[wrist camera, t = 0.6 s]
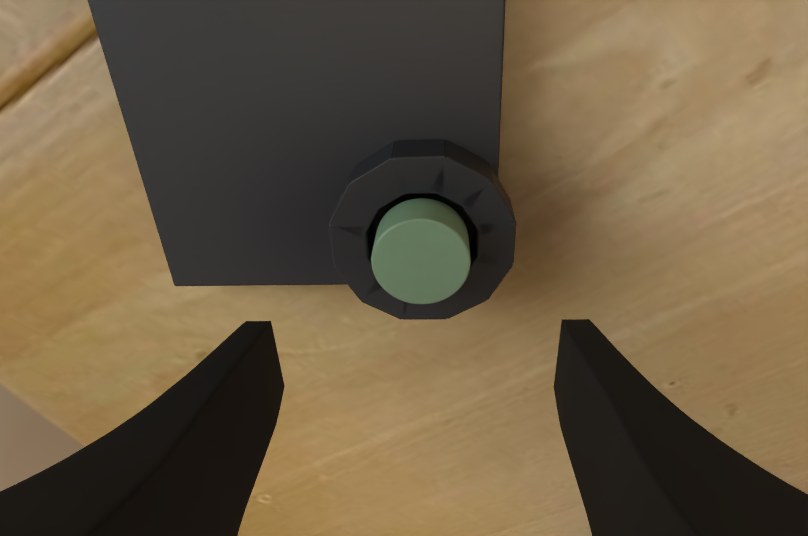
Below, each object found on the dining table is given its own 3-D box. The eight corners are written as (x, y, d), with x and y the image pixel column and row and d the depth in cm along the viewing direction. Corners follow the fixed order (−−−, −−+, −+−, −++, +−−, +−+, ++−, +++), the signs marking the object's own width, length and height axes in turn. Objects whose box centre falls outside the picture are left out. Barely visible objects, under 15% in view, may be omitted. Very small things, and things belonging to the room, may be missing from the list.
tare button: (468, 278, 19) (470, 304, 18) (379, 279, 19) (374, 305, 18) (469, 196, 17) (471, 217, 16) (372, 198, 18) (367, 219, 16)
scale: (502, 273, 22) (510, 320, 19) (191, 277, 23) (159, 321, 20) (526, -207, 14) (545, -238, 12) (62, -174, 15) (-14, -196, 13)
